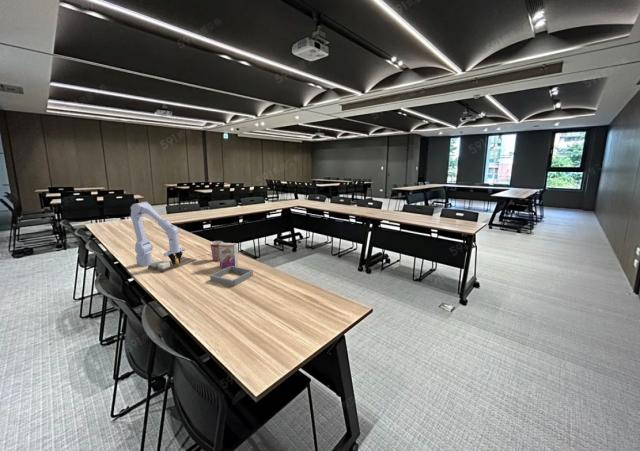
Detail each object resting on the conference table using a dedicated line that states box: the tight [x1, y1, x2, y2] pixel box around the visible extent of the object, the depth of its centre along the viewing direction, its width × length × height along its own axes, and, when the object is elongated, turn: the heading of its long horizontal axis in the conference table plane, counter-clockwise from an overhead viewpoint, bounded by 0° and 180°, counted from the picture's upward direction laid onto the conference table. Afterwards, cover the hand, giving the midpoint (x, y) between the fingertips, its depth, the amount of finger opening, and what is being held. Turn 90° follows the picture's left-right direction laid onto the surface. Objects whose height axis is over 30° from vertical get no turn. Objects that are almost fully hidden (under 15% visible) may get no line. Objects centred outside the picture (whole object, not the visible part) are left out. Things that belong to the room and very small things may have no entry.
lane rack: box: [147, 256, 197, 273], centre depth 188 cm, size 15×26×3 cm, turn 155°
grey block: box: [151, 260, 163, 267], centre depth 181 cm, size 5×5×4 cm
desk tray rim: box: [209, 266, 254, 288], centre depth 168 cm, size 18×18×4 cm
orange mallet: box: [158, 257, 179, 269], centre depth 181 cm, size 5×13×5 cm, turn 155°
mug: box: [209, 240, 224, 263], centre depth 199 cm, size 13×9×14 cm
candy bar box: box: [218, 242, 239, 268], centre depth 185 cm, size 11×5×16 cm, turn 84°
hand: (176, 263), depth 186 cm, fingers closed on orange mallet, 3 cm apart
